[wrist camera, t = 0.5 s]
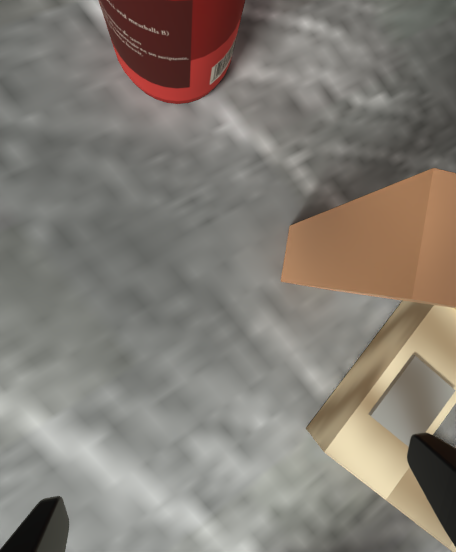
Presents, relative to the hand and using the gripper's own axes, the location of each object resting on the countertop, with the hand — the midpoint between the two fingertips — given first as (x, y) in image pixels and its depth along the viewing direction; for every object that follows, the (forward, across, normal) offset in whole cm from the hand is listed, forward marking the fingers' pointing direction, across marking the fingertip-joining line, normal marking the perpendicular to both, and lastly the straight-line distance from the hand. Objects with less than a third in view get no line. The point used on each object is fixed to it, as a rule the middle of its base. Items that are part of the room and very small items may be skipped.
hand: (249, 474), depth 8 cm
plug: (+15, -8, -1) cm, 17 cm away
